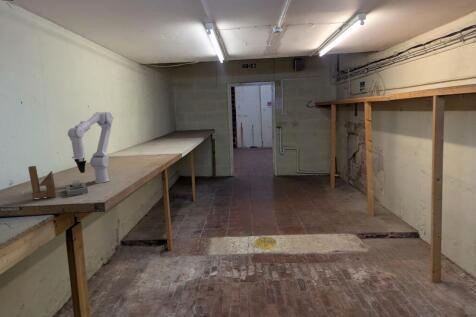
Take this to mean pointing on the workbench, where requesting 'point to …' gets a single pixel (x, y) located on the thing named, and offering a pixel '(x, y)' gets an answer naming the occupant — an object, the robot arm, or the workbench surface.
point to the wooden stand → (46, 182)
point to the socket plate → (76, 189)
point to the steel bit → (75, 182)
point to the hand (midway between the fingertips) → (81, 171)
